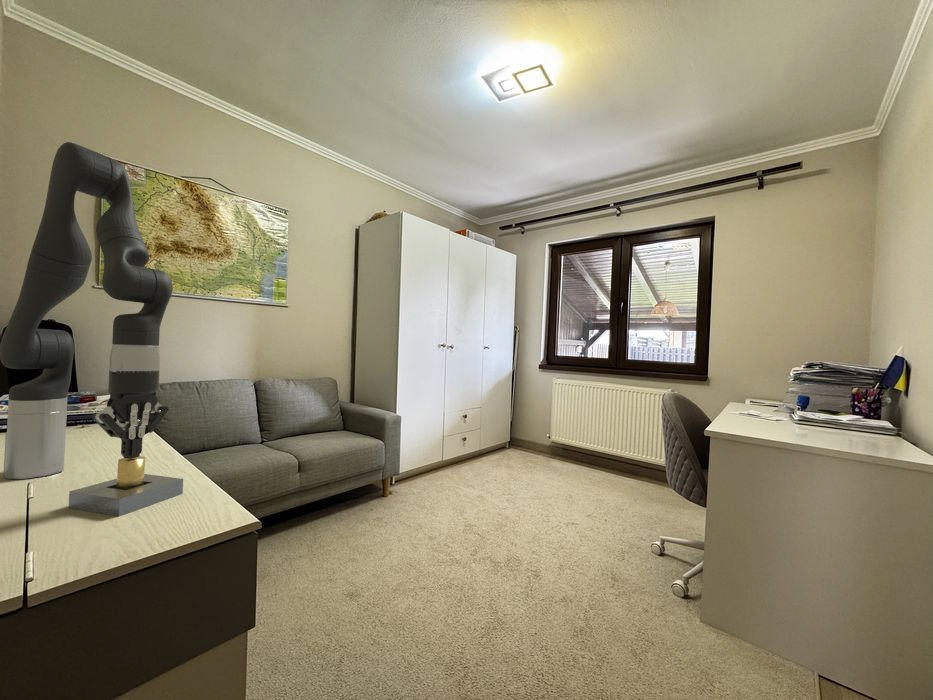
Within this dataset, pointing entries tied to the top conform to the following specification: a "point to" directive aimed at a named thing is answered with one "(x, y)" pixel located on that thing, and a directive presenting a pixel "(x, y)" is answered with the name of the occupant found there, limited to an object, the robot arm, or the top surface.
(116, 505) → the frame
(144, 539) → the top surface
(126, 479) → the brass cylinder
